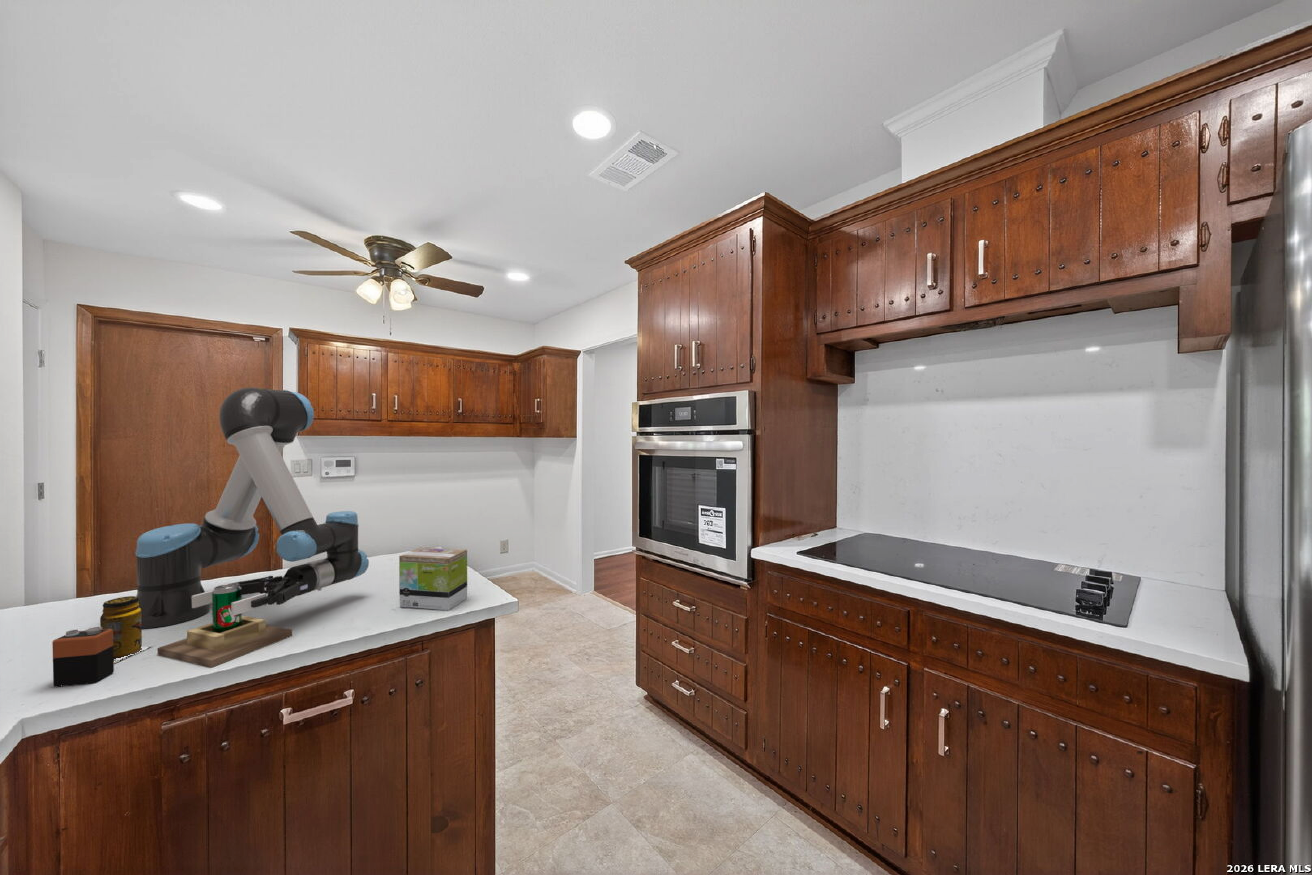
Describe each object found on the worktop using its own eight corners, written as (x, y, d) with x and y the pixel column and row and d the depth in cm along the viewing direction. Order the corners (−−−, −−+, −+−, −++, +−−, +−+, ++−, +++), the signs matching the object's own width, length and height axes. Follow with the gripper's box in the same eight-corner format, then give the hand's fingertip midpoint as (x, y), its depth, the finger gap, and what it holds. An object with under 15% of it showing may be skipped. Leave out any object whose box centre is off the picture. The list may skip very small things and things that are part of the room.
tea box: (398, 608, 131) (397, 555, 131) (421, 596, 141) (420, 546, 141) (449, 611, 129) (448, 556, 129) (468, 598, 139) (468, 547, 139)
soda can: (224, 634, 111) (224, 582, 111) (248, 633, 112) (247, 582, 112) (206, 643, 106) (205, 589, 106) (230, 642, 107) (229, 589, 107)
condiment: (153, 646, 108) (152, 594, 108) (112, 665, 100) (111, 608, 100) (120, 647, 108) (119, 594, 108) (76, 665, 100) (75, 608, 100)
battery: (96, 683, 93) (94, 632, 93) (51, 688, 91) (50, 635, 91) (115, 672, 97) (114, 623, 97) (73, 676, 95) (72, 626, 95)
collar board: (157, 654, 104) (157, 634, 104) (241, 626, 120) (240, 608, 120) (211, 667, 99) (211, 645, 99) (292, 635, 114) (291, 617, 114)
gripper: (343, 596, 122) (250, 629, 102) (276, 586, 130) (177, 615, 110) (343, 567, 122) (249, 594, 102) (275, 559, 130) (176, 583, 110)
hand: (212, 605), depth 106 cm, fingers open, 13 cm apart
